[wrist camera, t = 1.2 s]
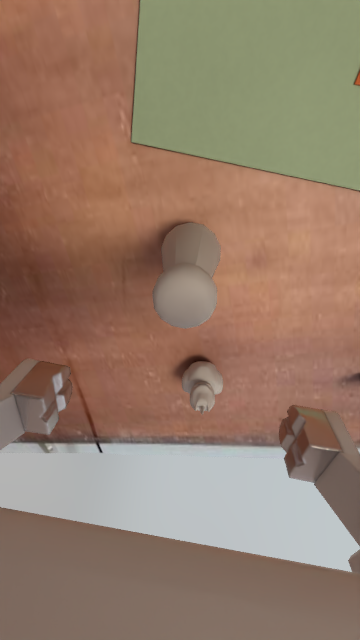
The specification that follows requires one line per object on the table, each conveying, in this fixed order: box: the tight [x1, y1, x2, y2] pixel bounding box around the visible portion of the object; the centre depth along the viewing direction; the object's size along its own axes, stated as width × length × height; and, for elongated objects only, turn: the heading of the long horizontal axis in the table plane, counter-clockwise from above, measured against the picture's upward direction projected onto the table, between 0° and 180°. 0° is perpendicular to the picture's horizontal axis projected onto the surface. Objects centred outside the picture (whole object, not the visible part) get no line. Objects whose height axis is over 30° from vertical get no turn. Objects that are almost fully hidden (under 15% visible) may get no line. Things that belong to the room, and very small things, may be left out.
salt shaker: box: [153, 222, 221, 329], centre depth 21 cm, size 6×6×13 cm
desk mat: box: [131, 0, 360, 191], centre depth 19 cm, size 25×15×1 cm, turn 80°
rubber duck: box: [182, 361, 223, 415], centre depth 33 cm, size 5×7×8 cm
